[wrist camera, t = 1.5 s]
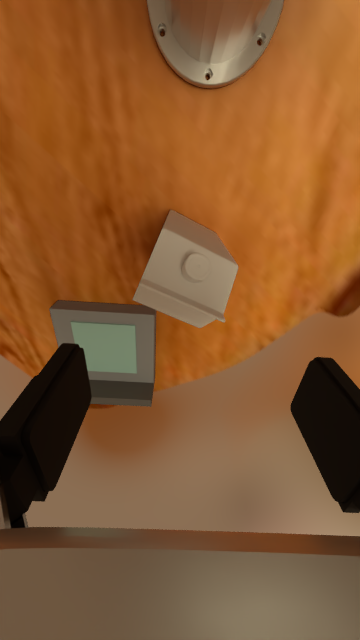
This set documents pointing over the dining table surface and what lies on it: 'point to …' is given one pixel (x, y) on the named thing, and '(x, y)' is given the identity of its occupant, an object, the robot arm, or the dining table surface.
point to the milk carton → (188, 273)
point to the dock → (112, 348)
